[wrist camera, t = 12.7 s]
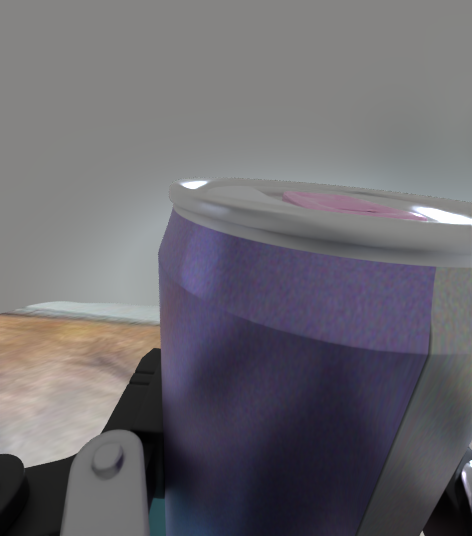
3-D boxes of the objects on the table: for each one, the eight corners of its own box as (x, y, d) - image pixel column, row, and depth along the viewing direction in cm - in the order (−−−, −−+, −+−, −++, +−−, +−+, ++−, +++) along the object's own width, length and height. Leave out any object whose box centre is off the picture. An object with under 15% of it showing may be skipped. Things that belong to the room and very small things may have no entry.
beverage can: (150, 777, 7) (70, 203, 2) (180, 509, 13) (182, 172, 7) (365, 756, 8) (802, 252, 2) (304, 507, 13) (391, 188, 8)
